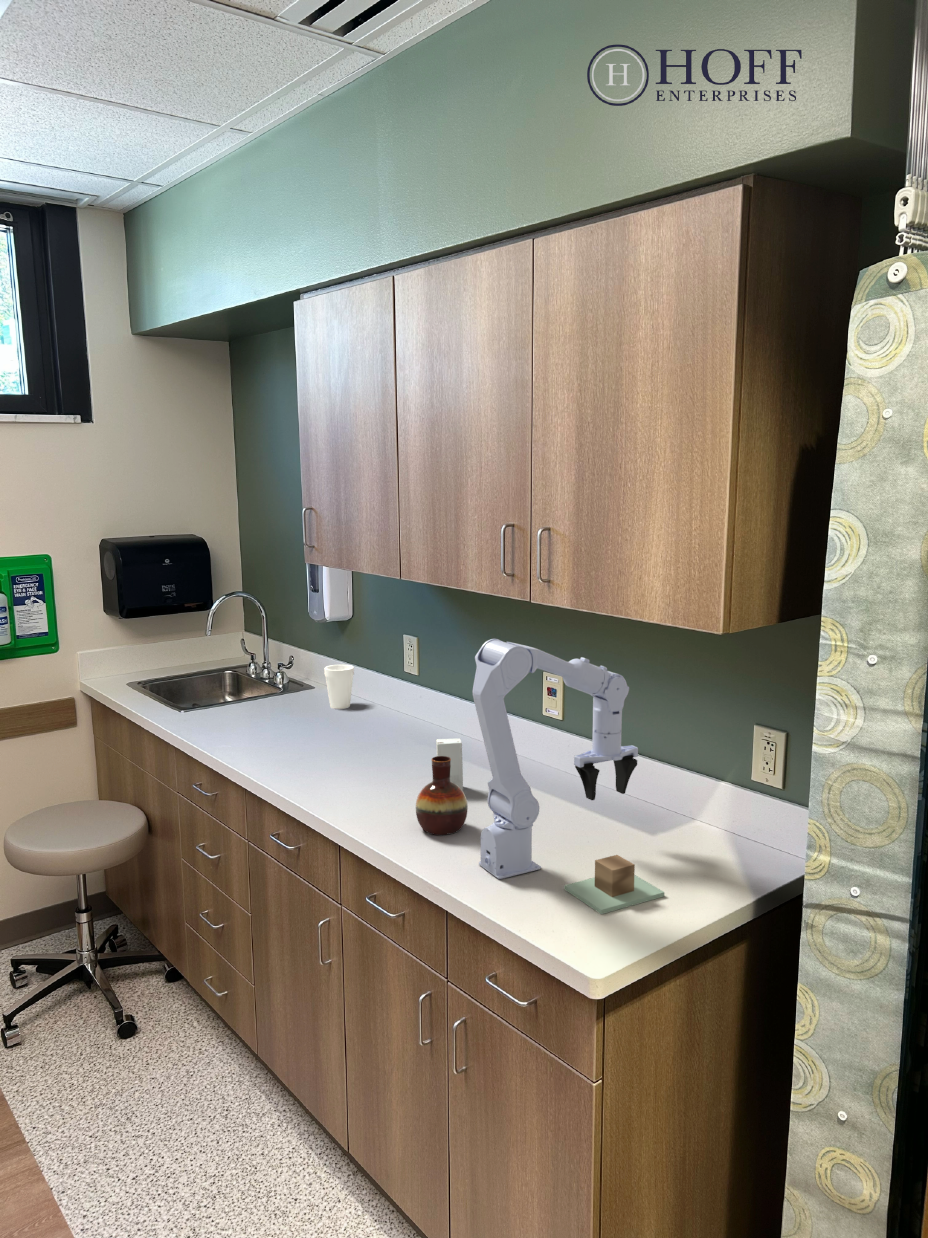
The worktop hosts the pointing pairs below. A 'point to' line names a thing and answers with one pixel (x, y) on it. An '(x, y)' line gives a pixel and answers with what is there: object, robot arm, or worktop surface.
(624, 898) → the sage board
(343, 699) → the foam cup
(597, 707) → the robot arm
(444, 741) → the skincare box
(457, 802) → the vase
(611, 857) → the walnut block
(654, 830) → the worktop surface
